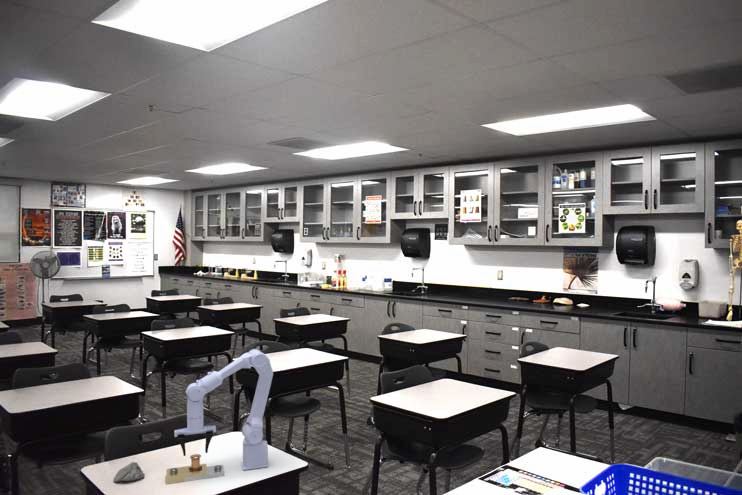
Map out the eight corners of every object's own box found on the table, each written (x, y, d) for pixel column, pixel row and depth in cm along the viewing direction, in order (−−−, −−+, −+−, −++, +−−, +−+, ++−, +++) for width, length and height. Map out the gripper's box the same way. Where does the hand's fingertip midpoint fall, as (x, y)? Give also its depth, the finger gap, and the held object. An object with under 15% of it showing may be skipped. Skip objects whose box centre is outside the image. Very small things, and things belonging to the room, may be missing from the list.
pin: (200, 472, 198) (200, 453, 198) (201, 476, 195) (201, 457, 195) (190, 473, 197) (190, 455, 197) (190, 477, 193) (190, 458, 194)
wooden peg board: (222, 467, 203) (222, 458, 203) (224, 475, 195) (224, 466, 195) (166, 475, 196) (166, 466, 196) (166, 484, 188) (166, 474, 188)
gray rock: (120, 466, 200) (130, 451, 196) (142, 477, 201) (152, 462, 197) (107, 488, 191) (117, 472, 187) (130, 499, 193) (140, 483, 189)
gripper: (214, 411, 202) (215, 447, 202) (174, 415, 197) (174, 452, 197) (216, 416, 195) (216, 453, 195) (174, 421, 190) (174, 459, 190)
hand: (195, 453), depth 196 cm, fingers open, 7 cm apart
